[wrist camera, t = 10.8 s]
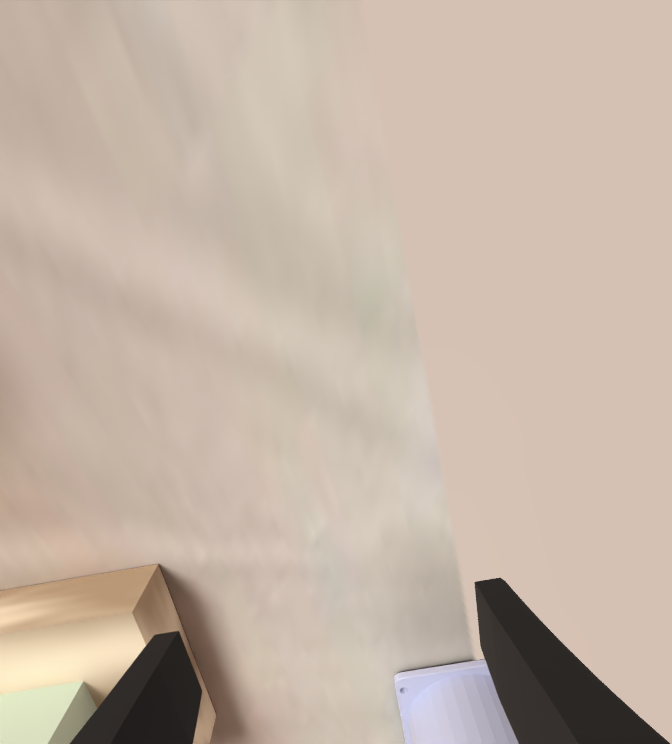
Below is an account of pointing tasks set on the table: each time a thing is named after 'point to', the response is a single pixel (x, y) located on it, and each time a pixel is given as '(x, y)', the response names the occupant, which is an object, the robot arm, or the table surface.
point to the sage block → (45, 714)
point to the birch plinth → (88, 633)
